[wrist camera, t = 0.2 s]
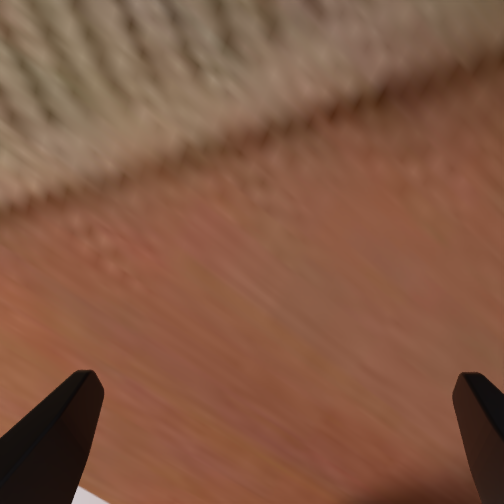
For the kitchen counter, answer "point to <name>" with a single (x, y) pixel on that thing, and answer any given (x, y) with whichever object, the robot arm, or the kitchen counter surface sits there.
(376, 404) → the kitchen counter surface
